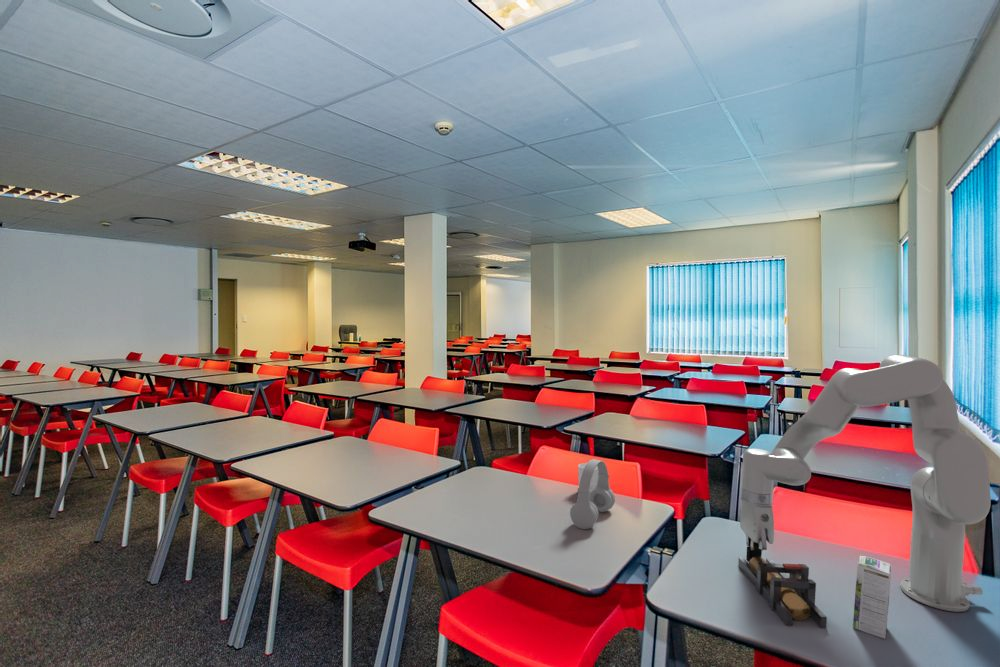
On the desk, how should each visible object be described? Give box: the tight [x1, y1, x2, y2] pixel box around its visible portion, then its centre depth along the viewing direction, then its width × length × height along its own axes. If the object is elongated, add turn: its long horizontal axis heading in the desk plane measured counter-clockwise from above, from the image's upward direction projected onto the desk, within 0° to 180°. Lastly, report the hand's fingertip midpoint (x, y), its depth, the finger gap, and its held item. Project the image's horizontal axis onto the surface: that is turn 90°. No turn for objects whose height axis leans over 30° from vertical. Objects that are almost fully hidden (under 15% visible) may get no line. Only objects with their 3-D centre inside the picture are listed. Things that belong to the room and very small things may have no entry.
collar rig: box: [737, 556, 828, 629], centre depth 118 cm, size 9×25×9 cm, turn 176°
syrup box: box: [852, 555, 892, 640], centre depth 106 cm, size 6×6×14 cm
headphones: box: [569, 458, 616, 530], centre depth 159 cm, size 20×8×19 cm, turn 148°
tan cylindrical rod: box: [748, 556, 810, 622], centre depth 118 cm, size 20×4×4 cm, turn 177°
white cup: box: [577, 462, 599, 494], centre depth 182 cm, size 8×8×10 cm
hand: (753, 562), depth 131 cm, fingers closed
